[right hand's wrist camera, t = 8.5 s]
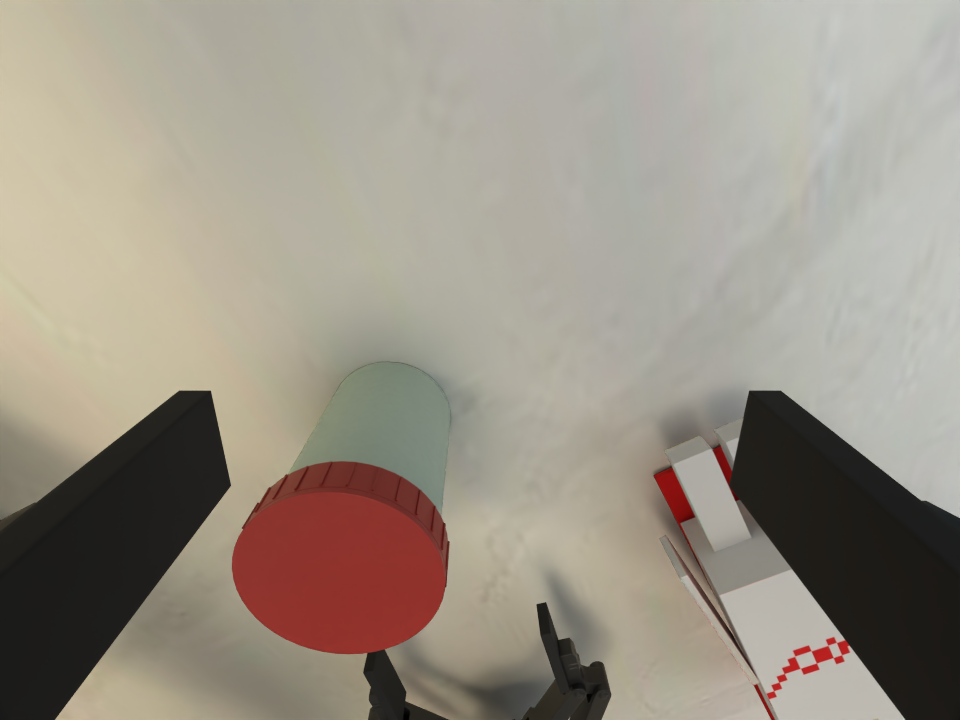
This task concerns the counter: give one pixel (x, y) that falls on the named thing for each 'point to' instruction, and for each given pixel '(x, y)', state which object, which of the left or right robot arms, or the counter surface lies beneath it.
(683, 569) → the toy
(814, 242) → the counter surface
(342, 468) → the lid
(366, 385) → the jar
